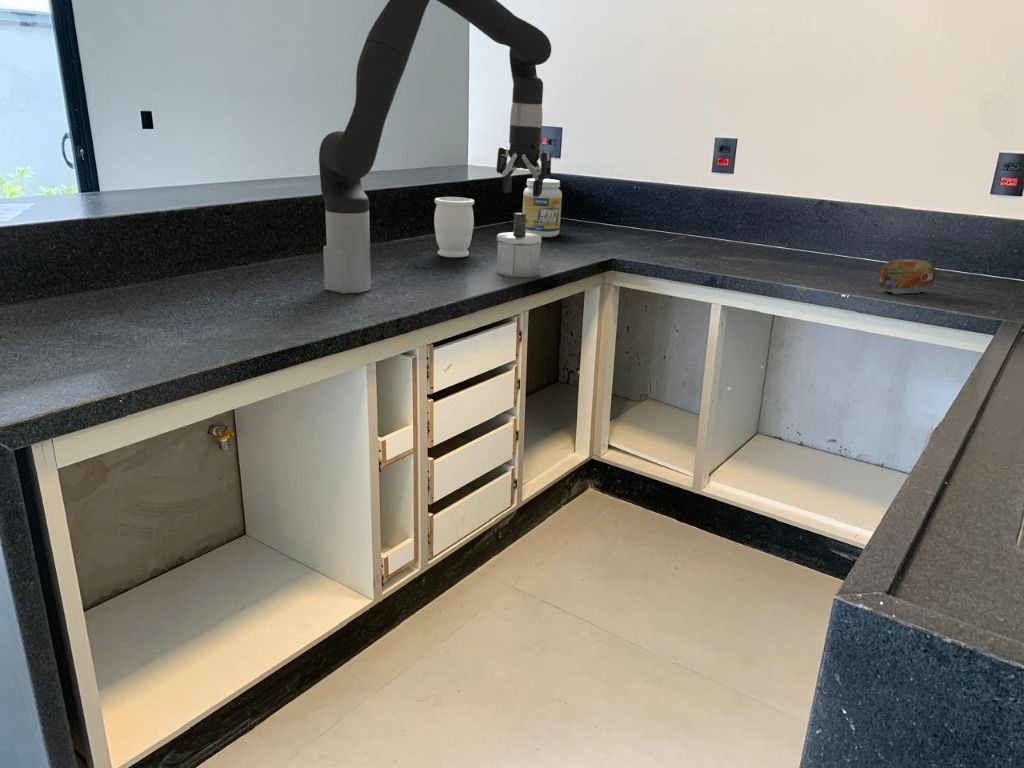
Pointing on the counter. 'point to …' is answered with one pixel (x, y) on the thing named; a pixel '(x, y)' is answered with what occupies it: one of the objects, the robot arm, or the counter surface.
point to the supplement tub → (543, 208)
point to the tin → (907, 274)
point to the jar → (453, 225)
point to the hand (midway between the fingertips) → (521, 194)
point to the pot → (518, 260)
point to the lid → (519, 233)
